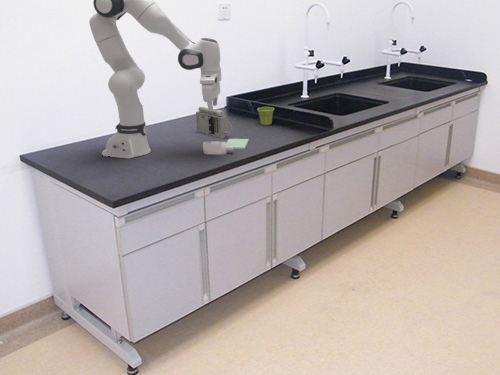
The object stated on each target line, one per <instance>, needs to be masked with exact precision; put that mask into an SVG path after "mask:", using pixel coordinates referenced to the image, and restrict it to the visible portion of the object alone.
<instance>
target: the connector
mask: <svg viewBox="0 0 500 375" xmlns="http://www.w3.org/2000/svg"><path fill="white" fill-rule="evenodd" d="M226 143H227V141H209V140H207V141H206V140H205V141H203V142H202V147H203V148H202V150H203V155H220V156H221V155H224V156H225V155H226V154H228V153H227V152H228V151H234V149H233V146H226Z"/></svg>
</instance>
